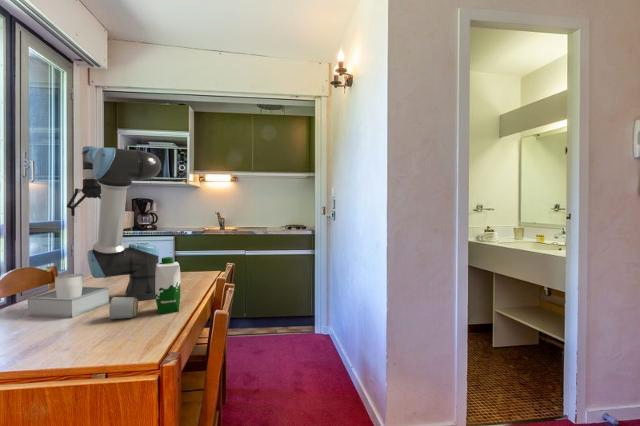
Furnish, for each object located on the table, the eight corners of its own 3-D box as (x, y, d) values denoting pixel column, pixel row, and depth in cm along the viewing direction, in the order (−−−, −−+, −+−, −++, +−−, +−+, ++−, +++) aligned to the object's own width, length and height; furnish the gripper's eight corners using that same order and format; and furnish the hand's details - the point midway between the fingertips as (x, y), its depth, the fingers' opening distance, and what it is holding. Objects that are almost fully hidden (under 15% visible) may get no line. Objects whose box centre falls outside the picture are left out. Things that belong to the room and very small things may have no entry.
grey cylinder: (135, 320, 123) (135, 298, 123) (108, 322, 121) (108, 300, 121) (140, 311, 134) (140, 291, 133) (115, 313, 131) (115, 293, 131)
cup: (64, 304, 140) (64, 274, 139) (88, 303, 140) (88, 273, 140) (49, 310, 131) (48, 278, 130) (74, 310, 131) (74, 278, 131)
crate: (108, 303, 143) (108, 287, 143) (72, 317, 125) (71, 299, 125) (69, 302, 146) (69, 286, 146) (27, 315, 128) (27, 297, 128)
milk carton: (179, 305, 141) (178, 256, 140) (181, 312, 133) (181, 259, 132) (155, 308, 137) (154, 257, 136) (156, 315, 129) (155, 261, 128)
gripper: (120, 180, 181) (120, 221, 181) (59, 178, 165) (60, 222, 166) (122, 179, 175) (122, 222, 175) (60, 177, 159) (60, 223, 160)
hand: (92, 222), depth 171 cm, fingers open, 13 cm apart
